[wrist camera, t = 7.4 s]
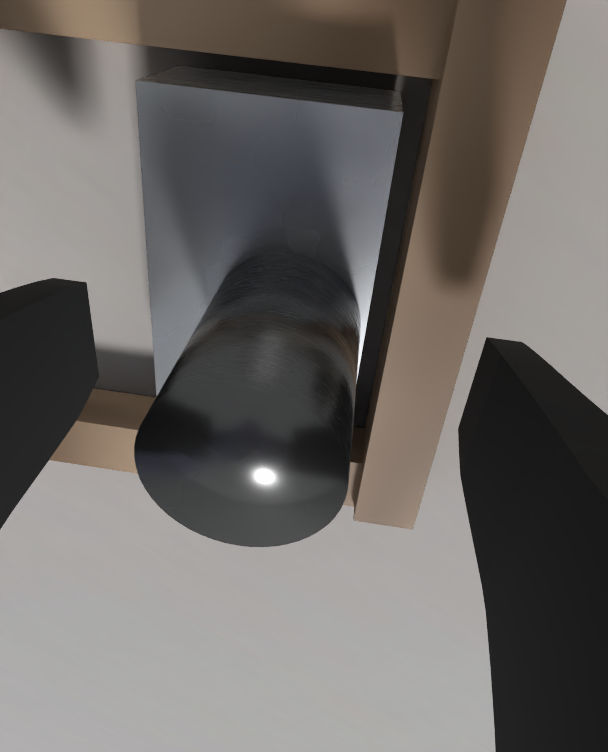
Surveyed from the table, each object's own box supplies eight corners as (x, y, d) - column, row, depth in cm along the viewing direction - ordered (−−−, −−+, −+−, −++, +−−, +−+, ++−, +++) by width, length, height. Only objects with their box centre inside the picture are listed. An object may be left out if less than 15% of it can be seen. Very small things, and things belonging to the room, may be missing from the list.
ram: (188, 397, 16) (81, 616, 10) (179, 65, 11) (-23, 134, 6) (345, 420, 16) (322, 656, 10) (400, 91, 11) (414, 190, 6)
